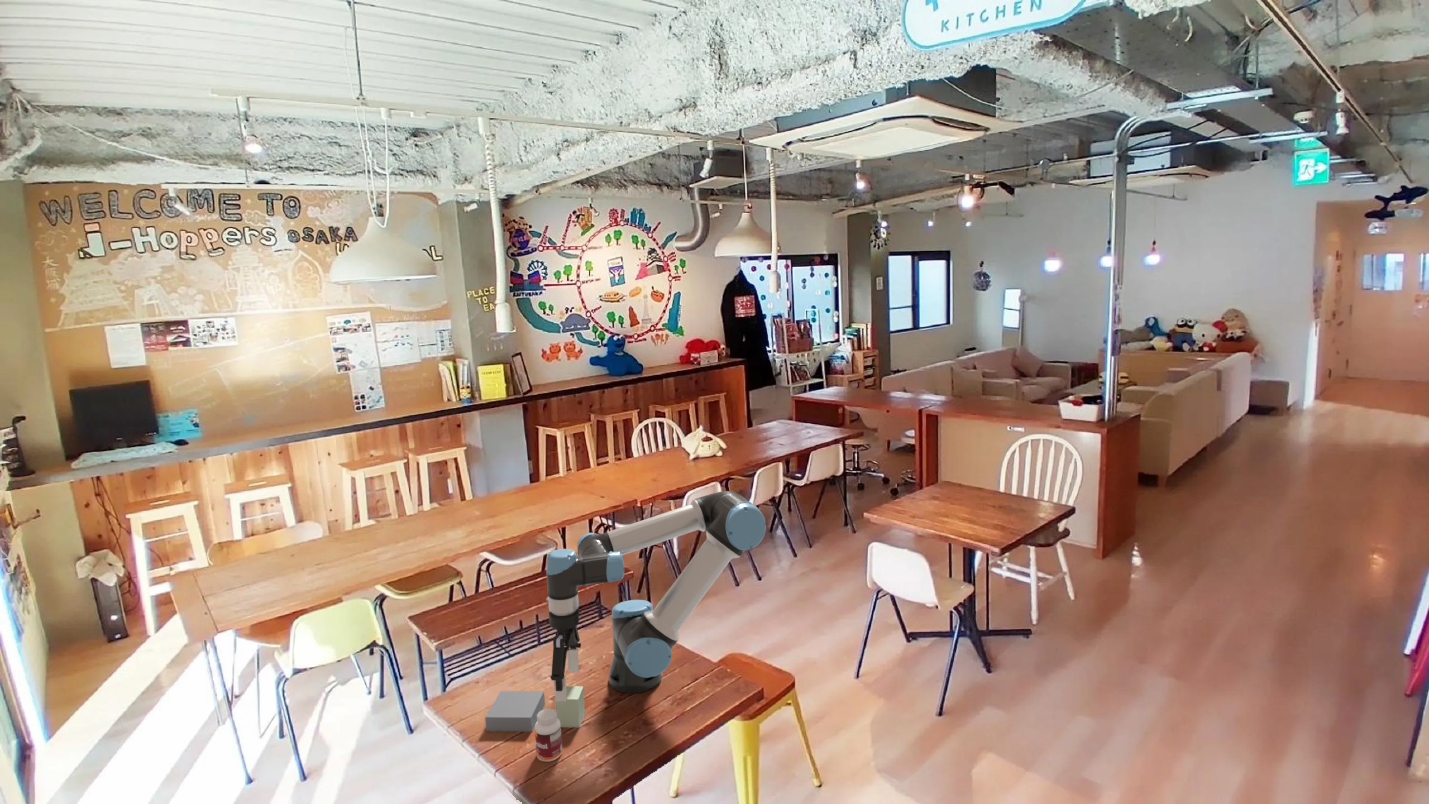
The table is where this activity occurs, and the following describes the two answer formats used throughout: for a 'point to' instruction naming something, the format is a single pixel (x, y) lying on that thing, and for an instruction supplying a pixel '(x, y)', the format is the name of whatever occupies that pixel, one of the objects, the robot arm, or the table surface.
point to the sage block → (571, 707)
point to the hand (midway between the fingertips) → (567, 685)
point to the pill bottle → (548, 735)
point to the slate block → (515, 711)
